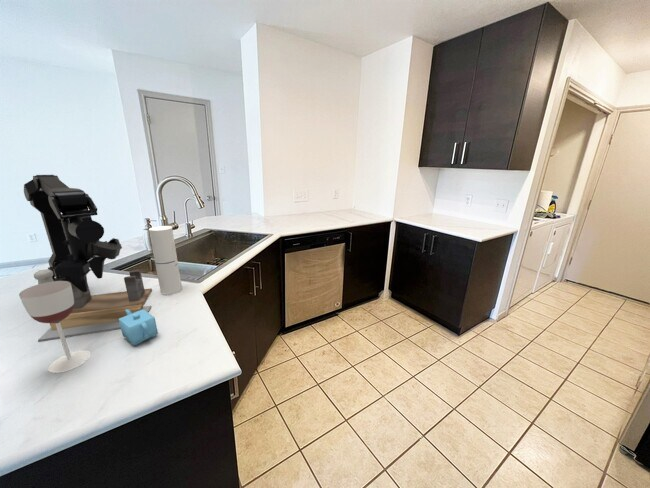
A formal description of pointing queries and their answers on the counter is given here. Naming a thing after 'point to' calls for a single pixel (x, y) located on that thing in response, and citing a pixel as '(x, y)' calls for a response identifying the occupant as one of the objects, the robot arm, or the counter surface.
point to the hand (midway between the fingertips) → (92, 284)
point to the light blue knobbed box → (138, 326)
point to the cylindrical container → (165, 259)
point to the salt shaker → (43, 276)
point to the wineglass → (54, 316)
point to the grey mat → (84, 329)
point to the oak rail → (96, 316)
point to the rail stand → (112, 296)
